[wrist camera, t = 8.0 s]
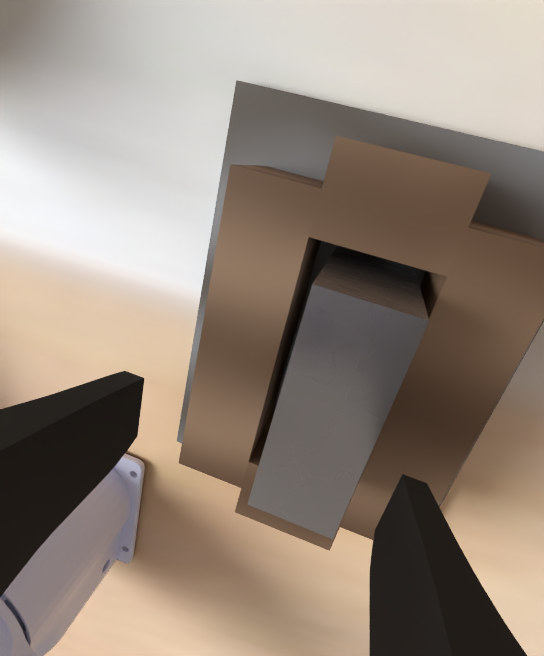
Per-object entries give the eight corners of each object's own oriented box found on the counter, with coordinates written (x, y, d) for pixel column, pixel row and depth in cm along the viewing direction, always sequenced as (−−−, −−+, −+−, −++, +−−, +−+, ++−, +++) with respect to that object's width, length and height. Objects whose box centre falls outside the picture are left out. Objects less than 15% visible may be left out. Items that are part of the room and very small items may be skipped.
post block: (421, 524, 21) (430, 613, 17) (183, 432, 24) (137, 491, 19) (615, 171, 14) (716, 171, 10) (243, 84, 16) (190, 52, 12)
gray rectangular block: (350, 419, 19) (332, 539, 13) (291, 398, 20) (247, 504, 14) (413, 262, 16) (428, 321, 10) (341, 240, 17) (312, 284, 10)
